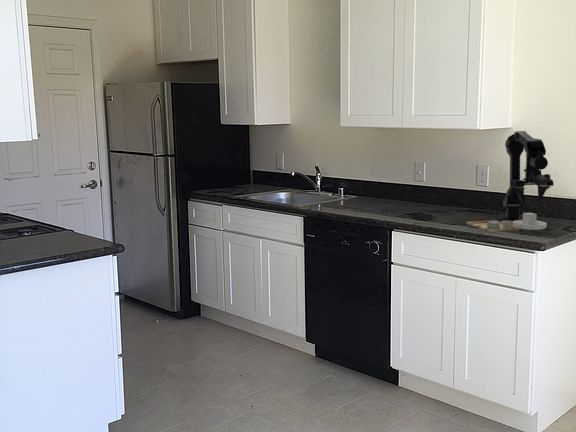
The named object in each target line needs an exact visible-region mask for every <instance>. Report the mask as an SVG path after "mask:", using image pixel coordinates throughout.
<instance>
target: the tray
mask: <svg viewBox="0 0 576 432" xmlns="http://www.w3.org/2000/svg"><path fill="white" fill-rule="evenodd" d="M491 221H494V222H500V229H488V228H487V222H491ZM466 225H468V226H471V227H475V228H476V229H480V230H481V231H482V230H483V231H486V232H489V233H495V232H496V233H498V232H500V233H501V232H515V231H516V232H518V231H521V229H520V228H518V227H515V226H513V228H506V229H502V221H498V220H476V221H466Z"/></svg>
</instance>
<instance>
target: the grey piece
mask: <svg viewBox="0 0 576 432" xmlns="http://www.w3.org/2000/svg"><path fill="white" fill-rule="evenodd" d="M490 221H491V222H487V228H488V229H500V222H501V221H499V222H494V221H492V220H490Z"/></svg>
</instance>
